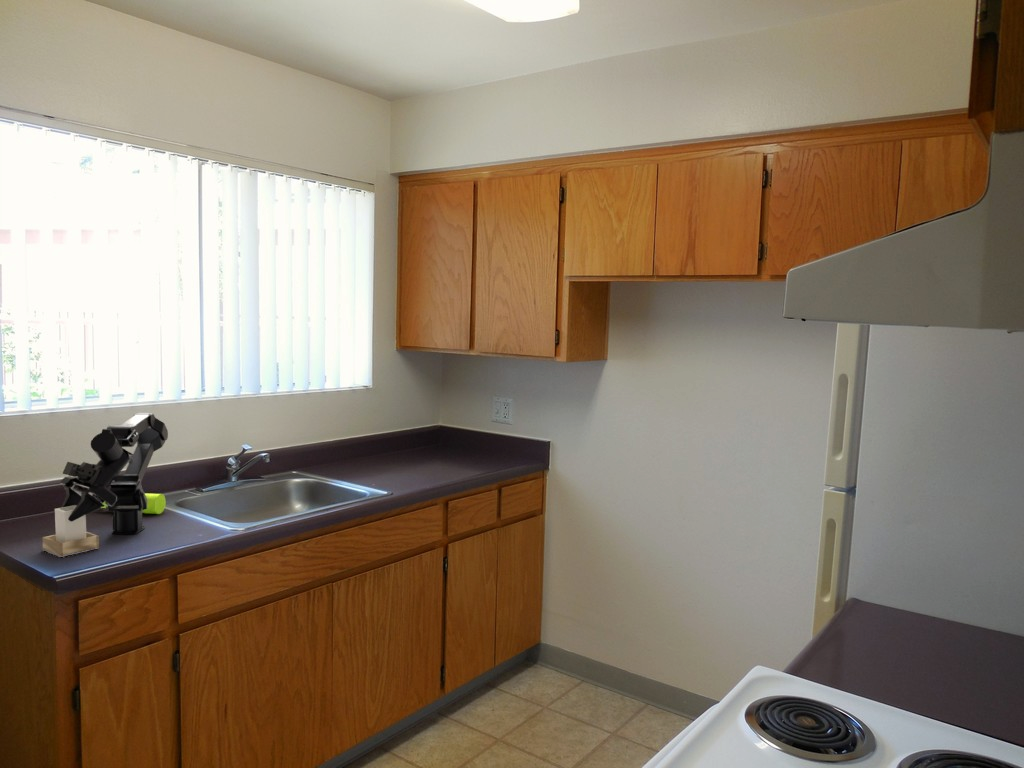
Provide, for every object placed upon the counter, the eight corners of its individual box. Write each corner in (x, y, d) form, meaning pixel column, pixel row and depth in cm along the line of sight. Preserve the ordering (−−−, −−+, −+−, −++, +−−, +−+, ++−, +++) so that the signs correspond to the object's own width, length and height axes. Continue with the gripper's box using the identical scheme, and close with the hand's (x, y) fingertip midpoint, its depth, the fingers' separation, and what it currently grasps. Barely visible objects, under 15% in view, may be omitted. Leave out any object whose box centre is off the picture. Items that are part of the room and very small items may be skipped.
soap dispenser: (169, 500, 232) (107, 498, 233) (159, 490, 226) (95, 488, 228) (162, 518, 228) (100, 515, 230) (152, 508, 223) (88, 506, 224)
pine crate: (81, 542, 196) (80, 529, 196) (99, 549, 191) (98, 535, 191) (42, 551, 189) (42, 537, 188) (60, 558, 183) (59, 544, 183)
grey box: (76, 539, 193) (75, 504, 192) (86, 543, 190) (85, 508, 190) (56, 544, 189) (54, 508, 188) (65, 547, 186) (64, 512, 185)
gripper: (66, 445, 196) (21, 494, 188) (103, 453, 186) (57, 506, 178) (98, 470, 203) (56, 519, 195) (135, 480, 193) (92, 532, 185)
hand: (64, 518), depth 188 cm, fingers closed on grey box, 5 cm apart
